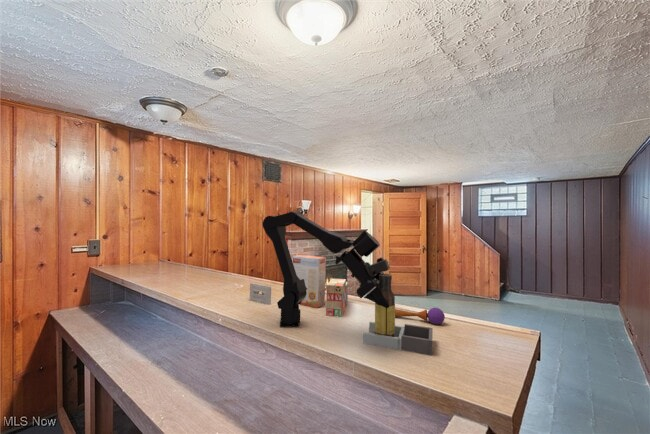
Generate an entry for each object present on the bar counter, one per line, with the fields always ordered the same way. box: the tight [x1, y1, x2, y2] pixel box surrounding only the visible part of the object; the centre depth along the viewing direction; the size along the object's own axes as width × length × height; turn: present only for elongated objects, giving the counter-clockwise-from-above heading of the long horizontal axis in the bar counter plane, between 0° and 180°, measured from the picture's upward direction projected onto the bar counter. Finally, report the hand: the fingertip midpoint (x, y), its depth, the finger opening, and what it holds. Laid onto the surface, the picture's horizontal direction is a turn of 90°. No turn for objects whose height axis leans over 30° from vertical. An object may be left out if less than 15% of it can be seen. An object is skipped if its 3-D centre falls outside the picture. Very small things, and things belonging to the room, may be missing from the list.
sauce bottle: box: [374, 273, 396, 337], centre depth 94 cm, size 6×6×20 cm
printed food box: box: [325, 278, 349, 318], centre depth 125 cm, size 21×6×12 cm, turn 169°
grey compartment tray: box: [362, 321, 434, 356], centre depth 92 cm, size 20×11×4 cm, turn 70°
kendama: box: [395, 307, 446, 325], centre depth 113 cm, size 6×6×20 cm
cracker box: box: [292, 254, 327, 309], centre depth 130 cm, size 14×6×21 cm, turn 58°
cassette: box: [249, 282, 272, 306], centre depth 130 cm, size 12×2×8 cm, turn 58°
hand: (389, 304), depth 93 cm, fingers closed on sauce bottle, 6 cm apart
